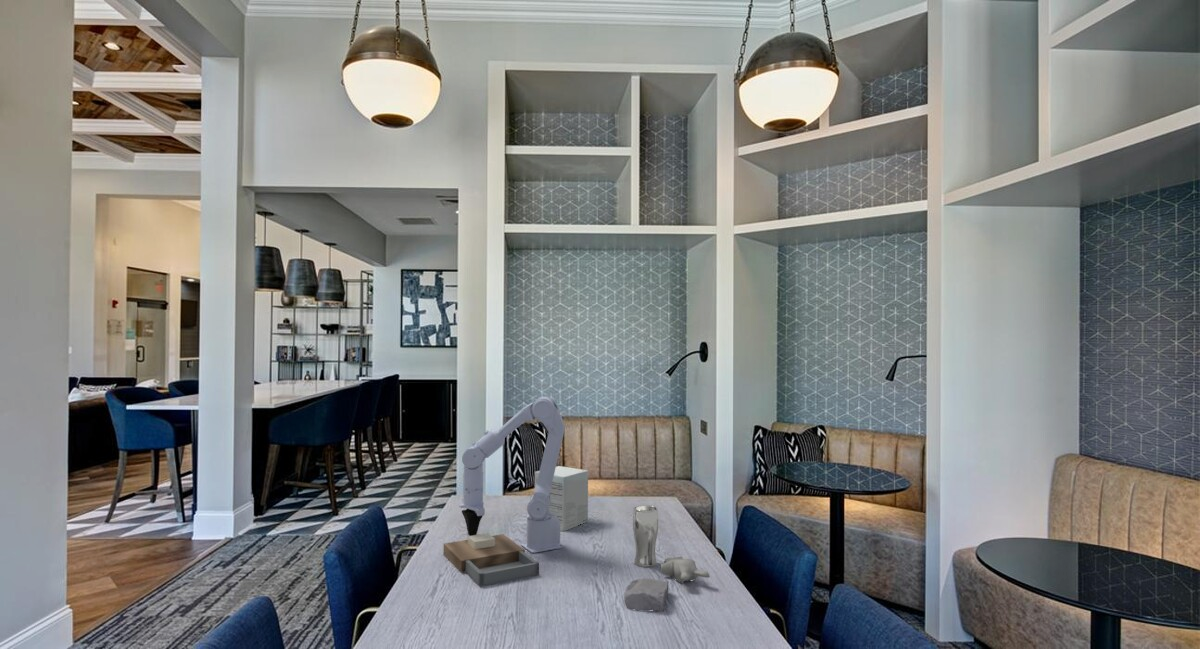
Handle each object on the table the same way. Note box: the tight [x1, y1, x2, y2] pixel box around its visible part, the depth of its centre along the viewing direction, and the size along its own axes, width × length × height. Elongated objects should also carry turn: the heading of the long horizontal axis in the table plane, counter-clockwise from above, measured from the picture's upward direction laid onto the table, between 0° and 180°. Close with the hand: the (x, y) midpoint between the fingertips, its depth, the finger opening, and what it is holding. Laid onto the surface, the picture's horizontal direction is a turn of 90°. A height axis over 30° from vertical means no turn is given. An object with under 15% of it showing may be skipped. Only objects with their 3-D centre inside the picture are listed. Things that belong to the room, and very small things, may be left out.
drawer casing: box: [442, 534, 526, 573], centre depth 171 cm, size 18×16×3 cm
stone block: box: [623, 577, 669, 612], centre depth 144 cm, size 12×5×10 cm
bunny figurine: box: [660, 556, 711, 583], centre depth 157 cm, size 10×5×15 cm
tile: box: [467, 532, 495, 549], centre depth 173 cm, size 6×6×2 cm
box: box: [464, 551, 540, 587], centre depth 159 cm, size 16×11×3 cm
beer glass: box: [632, 504, 659, 568], centre depth 168 cm, size 7×7×15 cm
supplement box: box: [534, 465, 589, 532], centre depth 205 cm, size 13×13×18 cm
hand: (472, 534), depth 180 cm, fingers closed
